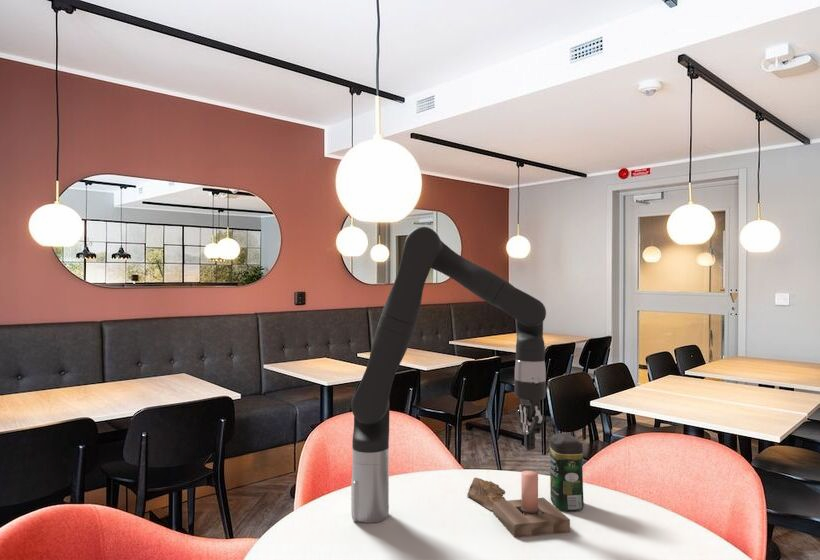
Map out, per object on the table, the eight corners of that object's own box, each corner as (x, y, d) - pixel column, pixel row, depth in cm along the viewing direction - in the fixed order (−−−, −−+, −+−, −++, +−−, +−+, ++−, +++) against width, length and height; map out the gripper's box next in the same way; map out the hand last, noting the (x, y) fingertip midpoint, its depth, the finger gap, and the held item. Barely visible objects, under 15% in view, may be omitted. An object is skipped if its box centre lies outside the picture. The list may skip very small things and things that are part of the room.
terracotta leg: (525, 526, 131) (525, 477, 132) (518, 519, 136) (518, 471, 136) (541, 525, 132) (541, 475, 133) (534, 518, 136) (534, 470, 137)
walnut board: (514, 537, 126) (514, 524, 126) (493, 513, 139) (493, 501, 139) (570, 532, 129) (569, 519, 129) (543, 509, 142) (543, 497, 142)
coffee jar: (547, 498, 149) (546, 430, 150) (575, 498, 149) (575, 430, 150) (556, 513, 140) (556, 440, 140) (587, 512, 140) (586, 440, 140)
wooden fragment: (513, 512, 141) (513, 508, 141) (471, 513, 141) (471, 508, 141) (497, 479, 166) (497, 475, 166) (461, 479, 166) (461, 475, 166)
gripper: (505, 374, 140) (505, 442, 140) (526, 383, 128) (526, 457, 127) (532, 374, 142) (532, 440, 142) (556, 382, 129) (556, 455, 129)
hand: (529, 448), depth 134 cm, fingers closed
